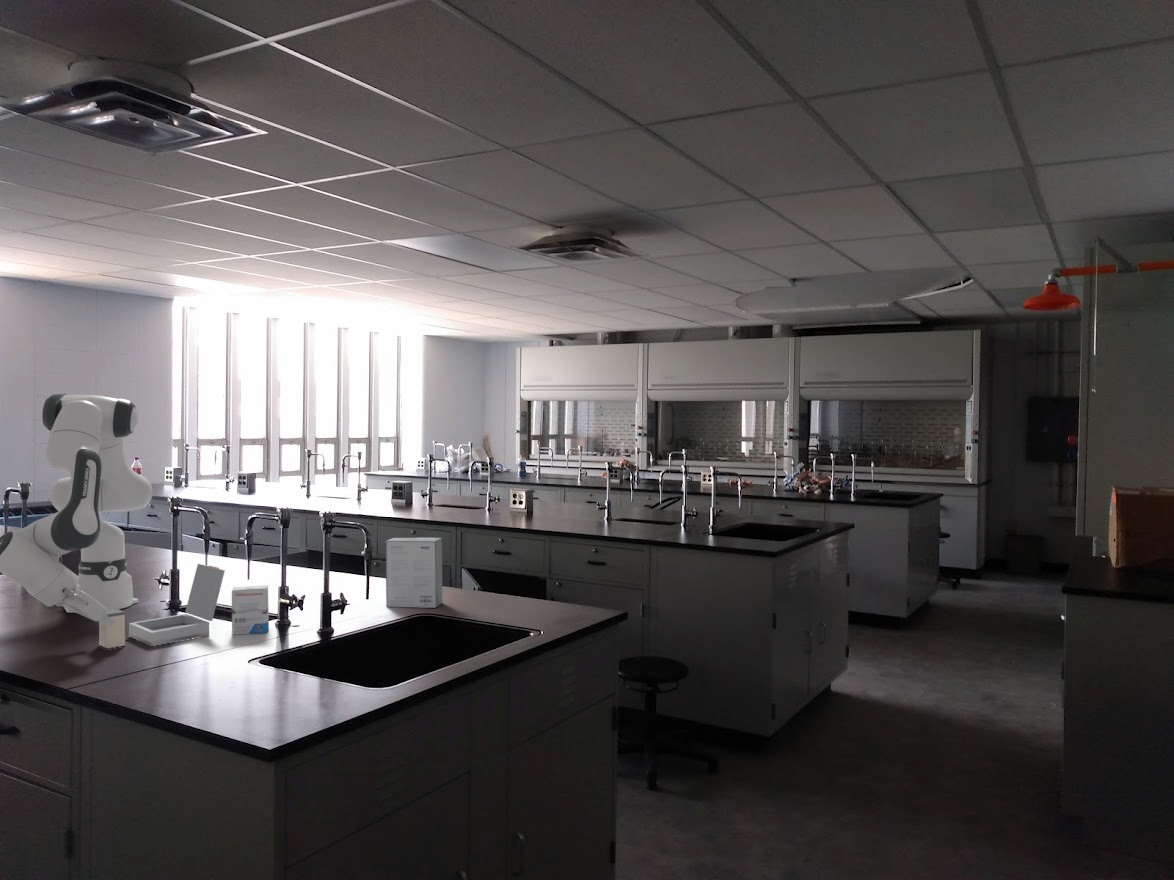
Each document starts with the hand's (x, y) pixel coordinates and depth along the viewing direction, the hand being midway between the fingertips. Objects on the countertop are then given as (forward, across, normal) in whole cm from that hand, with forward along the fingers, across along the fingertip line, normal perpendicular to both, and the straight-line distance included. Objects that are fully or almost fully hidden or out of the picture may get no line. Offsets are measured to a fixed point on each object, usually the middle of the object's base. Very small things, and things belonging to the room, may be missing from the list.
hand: (103, 621), depth 199 cm
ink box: (+26, -12, -17) cm, 34 cm away
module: (+6, 0, +3) cm, 7 cm away
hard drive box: (+60, -18, -51) cm, 81 cm away
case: (+15, -1, -6) cm, 16 cm away
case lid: (+14, -1, -19) cm, 24 cm away
